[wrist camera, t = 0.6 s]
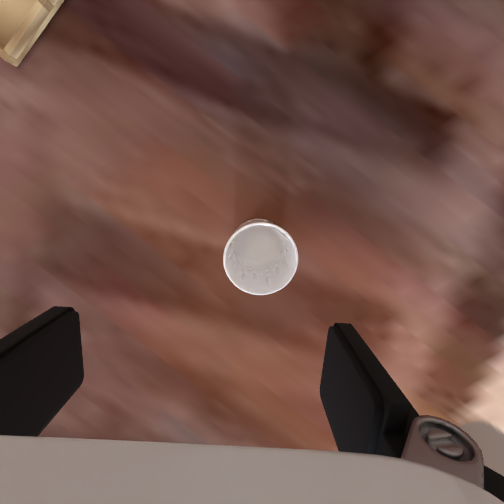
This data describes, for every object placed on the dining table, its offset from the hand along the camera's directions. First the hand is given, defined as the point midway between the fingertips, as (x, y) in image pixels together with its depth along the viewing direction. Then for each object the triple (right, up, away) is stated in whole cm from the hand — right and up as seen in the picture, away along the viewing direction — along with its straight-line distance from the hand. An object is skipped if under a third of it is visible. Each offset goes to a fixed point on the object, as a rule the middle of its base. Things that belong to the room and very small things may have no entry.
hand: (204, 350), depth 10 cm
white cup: (+3, +5, +29) cm, 29 cm away
